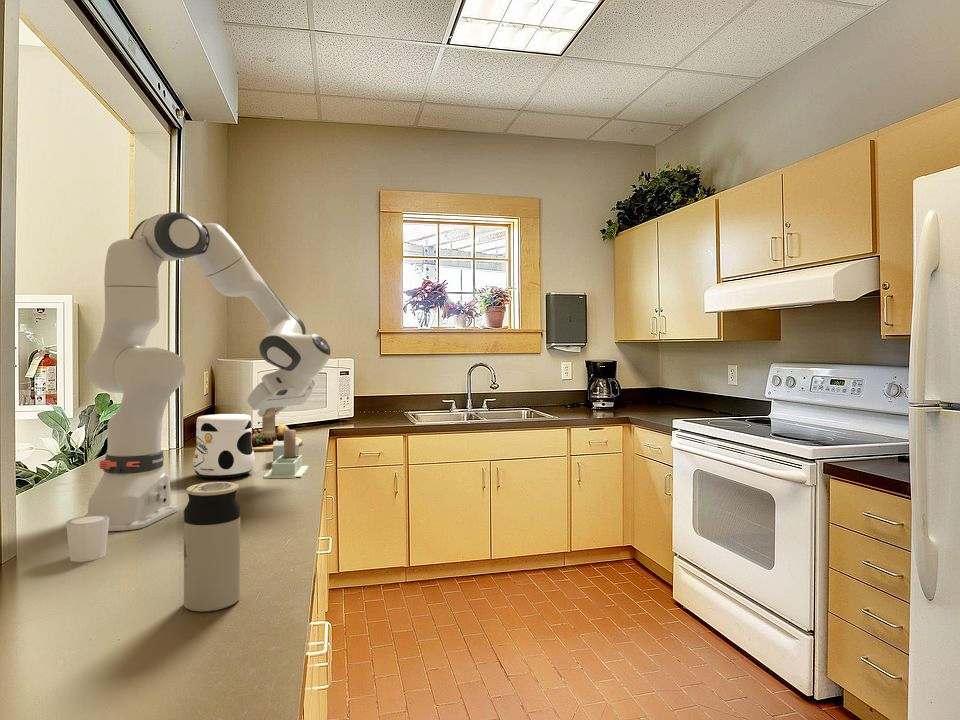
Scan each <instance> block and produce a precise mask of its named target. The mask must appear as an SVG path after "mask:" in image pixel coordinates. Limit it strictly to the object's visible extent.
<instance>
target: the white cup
mask: <svg viewBox="0 0 960 720" xmlns="http://www.w3.org/2000/svg"><path fill="white" fill-rule="evenodd" d="M65 526H66V535H67V544H68V553H69V560H70V561H71V562H77V563H83V562H90V561H95V560H99V559H101V558H103V557H105V556H106V554H107V545H108V544H107V543H108V534H109V531H108V526H109V517H108V516H104V515H91V516H85V515H84V516H78V517H75V518H71V519H68V520H67V521H66V522H65Z"/></svg>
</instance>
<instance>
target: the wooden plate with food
mask: <svg viewBox="0 0 960 720" xmlns="http://www.w3.org/2000/svg"><path fill="white" fill-rule="evenodd" d="M284 430H291V429H290V428H289V427H288V426H287V425H285V424H283V423H280V424H278V426H277V427H276V428H275V437H262V429H260V428H259V429H254V430H252V437H251V442H252V448H253V451H254V453H267V452H268V453H269V452H273V442H274V441H284ZM297 440H298V444H299V446H300V447H302V445H303V439H301V438H300V437H297V436H296V441H297Z"/></svg>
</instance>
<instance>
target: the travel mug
mask: <svg viewBox="0 0 960 720" xmlns="http://www.w3.org/2000/svg"><path fill="white" fill-rule="evenodd" d="M239 487H240V486H239V484H237V483H235V482H231V481H229V482H228V481H210V482H202V483H197V484H192V485H191V486H188V487H187V488H186V489H185V492H186V494H187V496H188V502H187V505H186V506H185V508H184V509H183V606H184V608H186V609H187V610H190V611H192V612H200V613H209V612H216V611H219V610H224V609H227V608H229V607H230V606H232V605H234V604H236V603H237V602H238V601H239V600H240V598H241V504H240V502H239V501H238V499H237V498H236V496H237V491H238V489H239Z"/></svg>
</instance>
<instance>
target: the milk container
mask: <svg viewBox="0 0 960 720" xmlns="http://www.w3.org/2000/svg"><path fill="white" fill-rule="evenodd" d="M195 426H196V431H195V433H196V435H195V436H196V439H195V440H196V446H195V451H194V454H193V457H192V466H193V467H192V468H193V471H194V473H195V474H196V475H198V476H199V477H202V478H208V479H226V478H227V479H229V478H237V477H241V476H244V475H247V474H248V473H250V472H252V470H253V469H254V466H255V461H256V460H255V459H256V458H255V452H254V451H253V448H252V442H251V437H252V431H253V429H252V417H251V415H250V414H245V413H243V414H242V413H241V414H240V413H218V414H216V413H215V414H206V415H200V416H198V417H197V418H196V425H195Z"/></svg>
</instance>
